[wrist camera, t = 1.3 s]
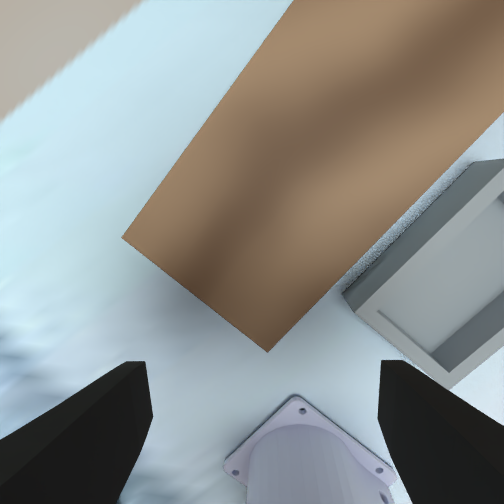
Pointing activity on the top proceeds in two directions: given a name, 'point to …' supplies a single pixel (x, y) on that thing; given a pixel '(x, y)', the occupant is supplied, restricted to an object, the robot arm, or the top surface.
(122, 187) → the top surface
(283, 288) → the shelf
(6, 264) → the top surface
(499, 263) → the tray
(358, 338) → the top surface
